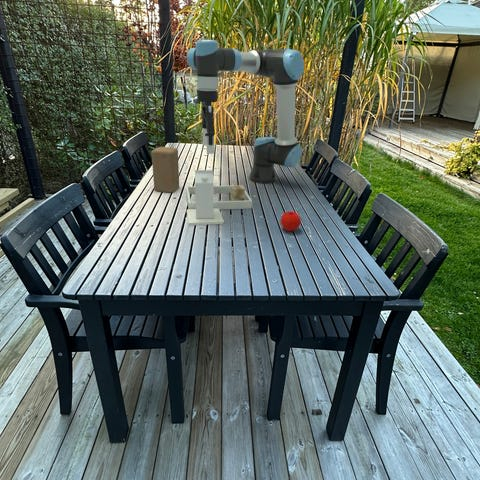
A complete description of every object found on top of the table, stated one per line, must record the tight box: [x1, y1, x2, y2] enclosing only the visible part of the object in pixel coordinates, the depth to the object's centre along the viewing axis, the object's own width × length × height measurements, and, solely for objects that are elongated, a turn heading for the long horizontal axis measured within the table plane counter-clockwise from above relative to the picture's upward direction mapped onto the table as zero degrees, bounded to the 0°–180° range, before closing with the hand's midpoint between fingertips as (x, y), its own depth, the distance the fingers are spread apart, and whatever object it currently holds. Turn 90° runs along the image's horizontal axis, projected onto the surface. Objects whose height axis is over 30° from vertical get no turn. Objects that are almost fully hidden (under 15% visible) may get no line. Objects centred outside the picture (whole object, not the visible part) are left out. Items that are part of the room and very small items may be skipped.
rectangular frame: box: [185, 184, 253, 211], centre depth 157 cm, size 28×22×4 cm
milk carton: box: [194, 169, 215, 218], centre depth 135 cm, size 7×7×19 cm
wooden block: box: [150, 146, 180, 194], centre depth 164 cm, size 10×10×20 cm
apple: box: [280, 211, 302, 232], centre depth 131 cm, size 8×8×7 cm
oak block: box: [229, 184, 246, 201], centre depth 153 cm, size 5×5×8 cm
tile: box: [186, 208, 225, 226], centre depth 140 cm, size 14×14×1 cm
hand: (208, 149), depth 131 cm, fingers open, 13 cm apart
